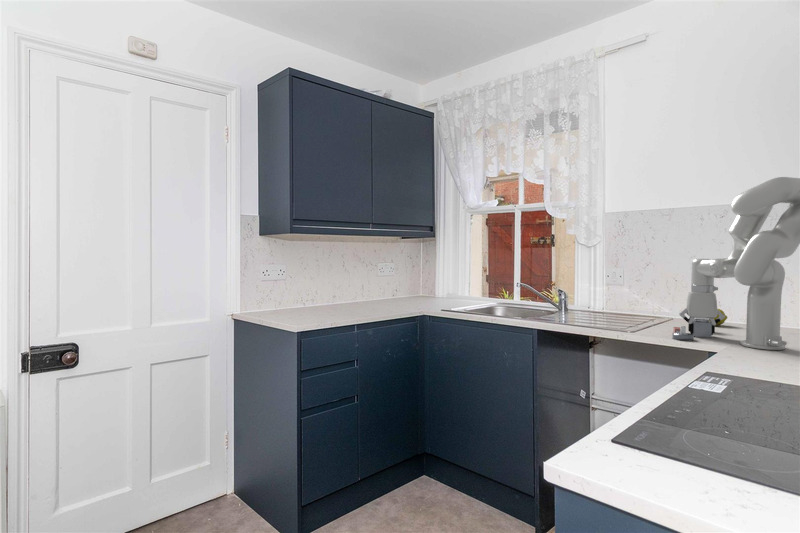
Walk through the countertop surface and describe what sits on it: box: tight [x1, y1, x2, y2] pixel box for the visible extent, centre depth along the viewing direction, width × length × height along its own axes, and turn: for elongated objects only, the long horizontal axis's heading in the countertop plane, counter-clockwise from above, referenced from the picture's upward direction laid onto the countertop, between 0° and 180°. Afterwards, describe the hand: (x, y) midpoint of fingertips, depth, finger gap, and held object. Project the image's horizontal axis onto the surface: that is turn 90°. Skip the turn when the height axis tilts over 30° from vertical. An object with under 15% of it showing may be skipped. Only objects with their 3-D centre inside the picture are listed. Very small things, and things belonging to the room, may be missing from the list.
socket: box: [692, 318, 713, 339], centre depth 185 cm, size 6×6×7 cm
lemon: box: [709, 308, 728, 327], centre depth 211 cm, size 11×8×8 cm
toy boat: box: [671, 325, 695, 342], centre depth 185 cm, size 20×7×5 cm, turn 155°
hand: (701, 333), depth 185 cm, fingers closed on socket, 6 cm apart
